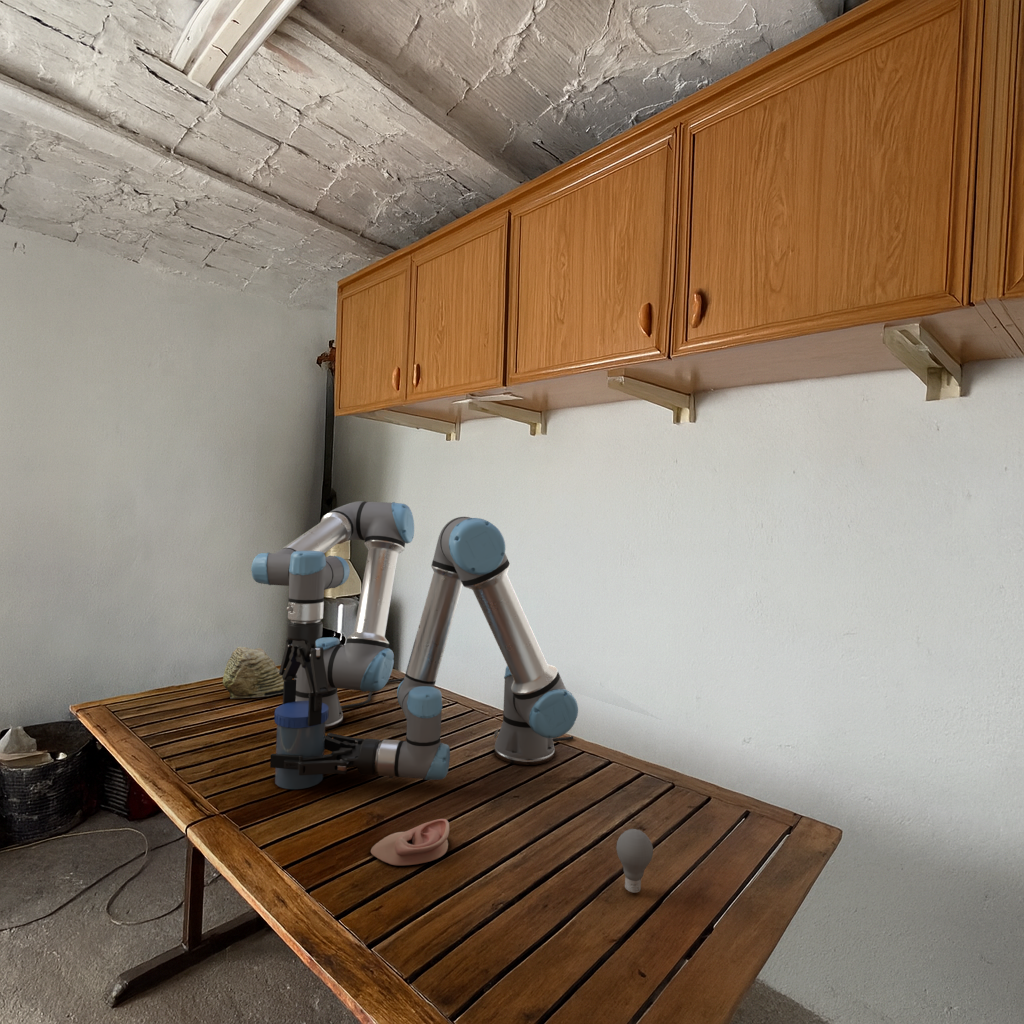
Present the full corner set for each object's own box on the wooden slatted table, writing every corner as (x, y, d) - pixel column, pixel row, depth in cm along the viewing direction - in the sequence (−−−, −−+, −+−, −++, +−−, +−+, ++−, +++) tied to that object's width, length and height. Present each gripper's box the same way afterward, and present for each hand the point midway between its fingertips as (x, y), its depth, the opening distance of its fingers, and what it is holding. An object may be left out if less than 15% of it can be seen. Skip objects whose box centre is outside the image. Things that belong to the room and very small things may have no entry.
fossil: (218, 695, 195) (220, 647, 195) (278, 685, 208) (279, 640, 207) (228, 703, 189) (230, 653, 188) (289, 692, 201) (290, 645, 201)
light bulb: (610, 879, 108) (613, 822, 108) (644, 879, 109) (647, 822, 109) (619, 902, 102) (622, 840, 102) (655, 901, 103) (658, 840, 103)
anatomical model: (363, 838, 111) (389, 807, 122) (362, 860, 111) (388, 827, 122) (436, 849, 108) (455, 817, 119) (435, 872, 108) (454, 838, 119)
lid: (302, 707, 149) (302, 697, 149) (339, 716, 144) (339, 706, 144) (262, 721, 139) (263, 710, 139) (300, 732, 134) (301, 721, 134)
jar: (300, 765, 149) (302, 700, 148) (333, 775, 144) (335, 708, 144) (264, 781, 140) (267, 712, 139) (298, 793, 135) (301, 722, 134)
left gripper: (266, 613, 147) (262, 705, 148) (314, 631, 129) (309, 736, 130) (297, 610, 153) (293, 699, 153) (347, 628, 135) (343, 728, 135)
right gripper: (363, 798, 129) (257, 790, 131) (391, 753, 152) (301, 747, 153) (364, 761, 129) (259, 754, 130) (393, 722, 152) (303, 716, 153)
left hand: (301, 716), depth 141 cm, fingers open, 12 cm apart
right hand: (282, 750), depth 142 cm, fingers closed on jar, 10 cm apart
